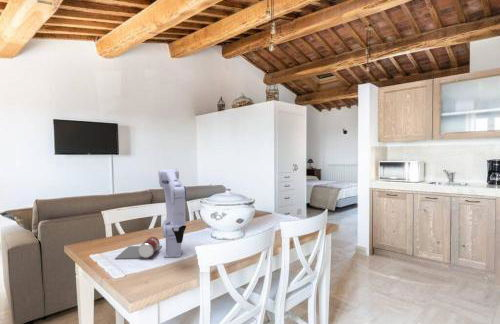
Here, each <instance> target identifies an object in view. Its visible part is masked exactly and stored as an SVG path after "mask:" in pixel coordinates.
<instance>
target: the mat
mask: <svg viewBox="0 0 500 324" xmlns="http://www.w3.org/2000/svg"><path fill="white" fill-rule="evenodd" d="M140 246H141V245H134V246H133V245H131V246H130V245H129V246H127V247H126V248H125V249H124V250H122V251H121V252H120V253H119V254H118V255H117V256H116V257H115V258H114V260H143V259H144V260H146V259H147V260H151V259H153V258H154V257H155V256H156V255H157V253H159V251H161V248H163V245H159V247H158V249H157V250H156V251H155V252H154V253H153V255H152V256H151V257H149V258H143V257H141V256H140V254H139V251H138V250H139V247H140Z"/></svg>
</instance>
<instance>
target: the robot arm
mask: <svg viewBox="0 0 500 324" xmlns="http://www.w3.org/2000/svg"><path fill="white" fill-rule="evenodd" d="M158 183H159V187H161V188H162V189H163V192H164V198H165V199H164V200H165V210H166V219H164V220H163V221H162V223H161V225H162V226H161V227H162V228H161V229H162V237H163V238H165V253H164V255H163V258H179V257H181V256H182V254H183V252H184V249H182V243H183V240H184V235H185V231H186V228H187V225H186V224H187V221H186V199H187V198H188V197H187V195H188V191H187V187H186V185H183V184H182V183H181V180H180V171H179V169H177V168H174V169H173V168H172V169H170V168H169V169H167V168H166V169H161V168H160V169H159V170H158Z"/></svg>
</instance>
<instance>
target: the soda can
mask: <svg viewBox="0 0 500 324" xmlns="http://www.w3.org/2000/svg"><path fill="white" fill-rule="evenodd" d="M139 246H140V247H139V250H138V251H139V254H140V256H141V257H143V258H149V257H151V256H152V255H153V253H154V252H155V251H156V250H157V249H158V247H159V246H161V244H160V241H159V239H158V238H157V237H155V236H150V237H148V238H147V239H146V240H145V241H144V242H143V243H141V244H140V245H139Z"/></svg>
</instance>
